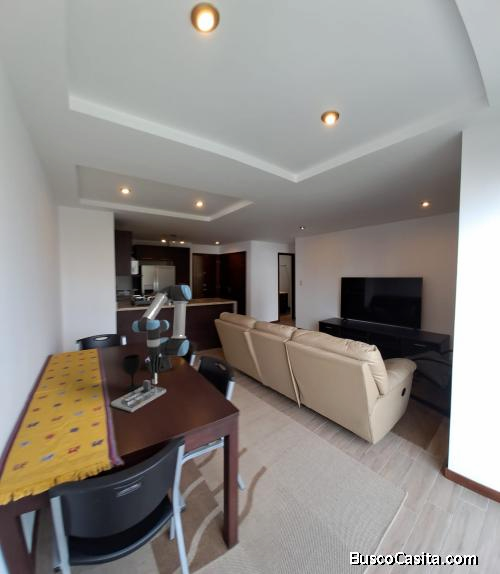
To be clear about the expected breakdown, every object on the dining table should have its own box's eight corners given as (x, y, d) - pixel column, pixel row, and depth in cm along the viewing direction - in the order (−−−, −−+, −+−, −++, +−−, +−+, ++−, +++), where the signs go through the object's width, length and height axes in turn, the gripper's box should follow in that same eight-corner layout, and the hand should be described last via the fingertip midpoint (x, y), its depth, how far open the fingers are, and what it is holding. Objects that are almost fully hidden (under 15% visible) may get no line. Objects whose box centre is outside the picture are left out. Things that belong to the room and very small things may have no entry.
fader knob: (146, 389, 145) (146, 379, 145) (151, 390, 143) (150, 380, 143) (143, 391, 143) (142, 381, 142) (147, 392, 141) (147, 382, 141)
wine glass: (121, 392, 146) (120, 360, 145) (125, 385, 156) (124, 355, 155) (140, 390, 149) (139, 358, 148) (143, 383, 159) (142, 353, 158)
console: (147, 387, 153) (146, 382, 153) (166, 392, 146) (165, 387, 146) (111, 405, 131) (111, 400, 131) (131, 412, 124) (131, 406, 124)
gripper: (157, 342, 155) (158, 378, 156) (140, 347, 143) (141, 386, 144) (166, 343, 152) (167, 380, 152) (149, 349, 140) (150, 389, 141)
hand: (154, 383), depth 148 cm, fingers closed
